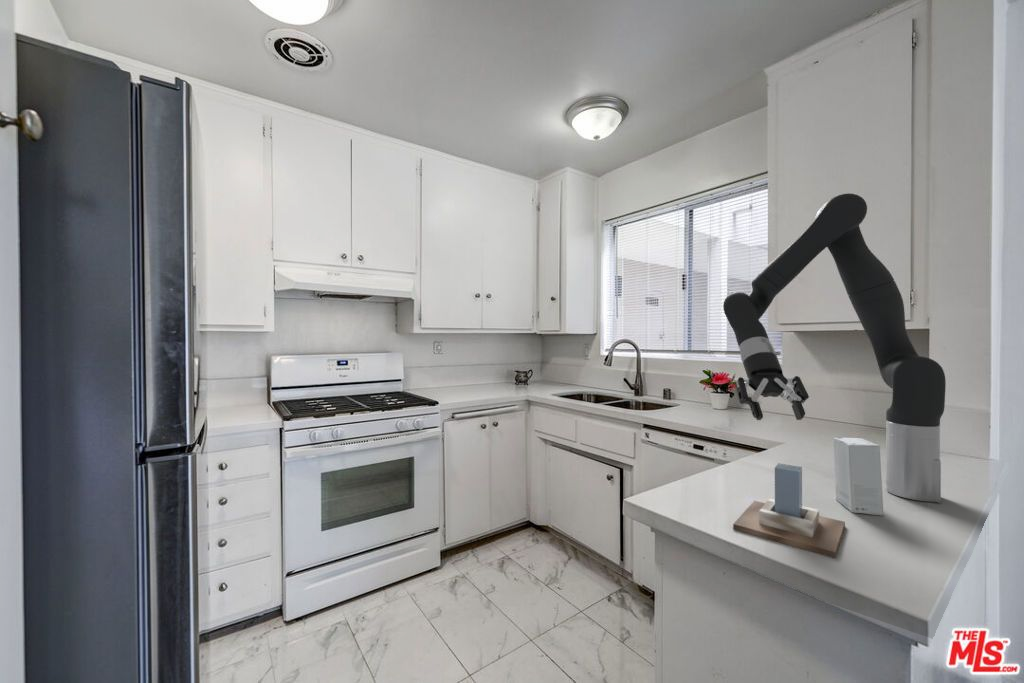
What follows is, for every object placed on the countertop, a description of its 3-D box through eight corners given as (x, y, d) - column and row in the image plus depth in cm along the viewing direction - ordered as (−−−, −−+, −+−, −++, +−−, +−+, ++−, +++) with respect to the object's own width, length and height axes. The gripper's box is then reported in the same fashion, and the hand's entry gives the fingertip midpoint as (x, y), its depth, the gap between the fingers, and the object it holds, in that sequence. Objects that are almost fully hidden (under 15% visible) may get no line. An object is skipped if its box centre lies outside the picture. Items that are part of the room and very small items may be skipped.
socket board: (844, 526, 82) (844, 509, 82) (835, 557, 71) (835, 537, 71) (754, 505, 93) (754, 489, 93) (733, 528, 82) (733, 511, 82)
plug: (802, 522, 82) (802, 467, 82) (799, 529, 79) (799, 472, 79) (778, 516, 85) (778, 463, 85) (774, 522, 82) (774, 467, 82)
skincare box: (884, 516, 87) (884, 446, 87) (849, 513, 89) (849, 444, 89) (863, 501, 95) (863, 437, 95) (832, 498, 97) (832, 435, 97)
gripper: (733, 351, 101) (752, 411, 92) (796, 349, 99) (822, 411, 90) (725, 367, 107) (741, 425, 98) (784, 366, 105) (807, 425, 96)
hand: (780, 418), depth 94 cm, fingers open, 8 cm apart
